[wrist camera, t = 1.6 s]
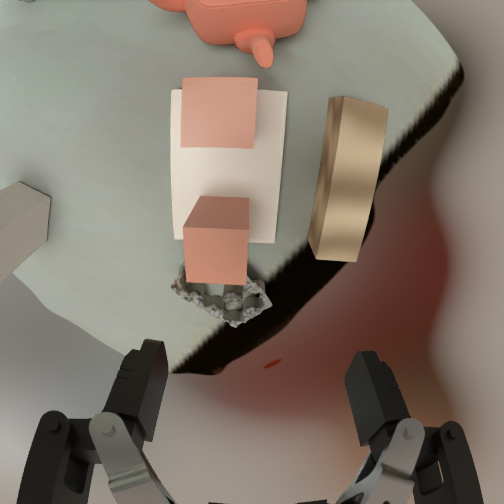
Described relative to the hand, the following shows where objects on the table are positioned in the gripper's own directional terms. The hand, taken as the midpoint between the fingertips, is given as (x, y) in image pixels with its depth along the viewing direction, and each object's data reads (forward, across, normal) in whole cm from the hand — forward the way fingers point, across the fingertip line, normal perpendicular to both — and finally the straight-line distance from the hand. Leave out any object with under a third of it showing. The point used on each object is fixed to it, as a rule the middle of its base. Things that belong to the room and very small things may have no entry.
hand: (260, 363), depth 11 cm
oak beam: (+22, -9, -4) cm, 24 cm away
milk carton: (+21, +31, +2) cm, 38 cm away
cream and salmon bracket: (+21, +3, -4) cm, 22 cm away
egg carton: (+22, +3, +10) cm, 24 cm away
